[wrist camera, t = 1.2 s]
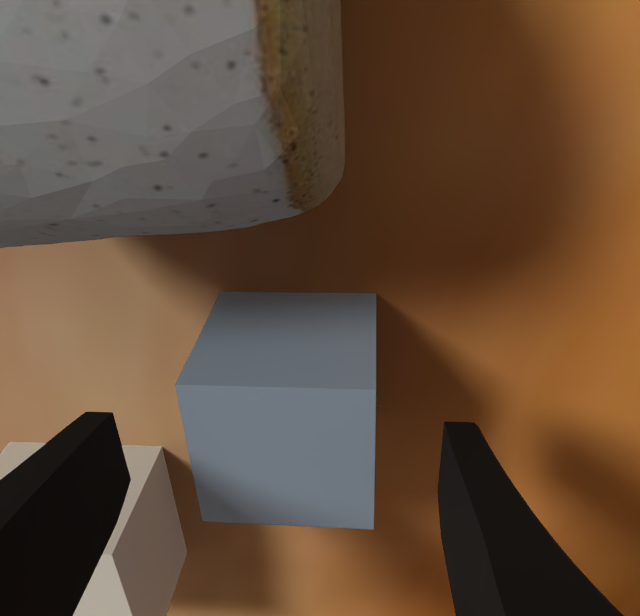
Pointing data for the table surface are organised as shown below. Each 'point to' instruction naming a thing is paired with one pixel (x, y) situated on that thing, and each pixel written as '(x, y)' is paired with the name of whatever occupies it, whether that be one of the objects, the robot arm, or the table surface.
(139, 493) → the cream block
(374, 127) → the table surface
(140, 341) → the table surface
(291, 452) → the blue cube
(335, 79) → the ceramic mug
